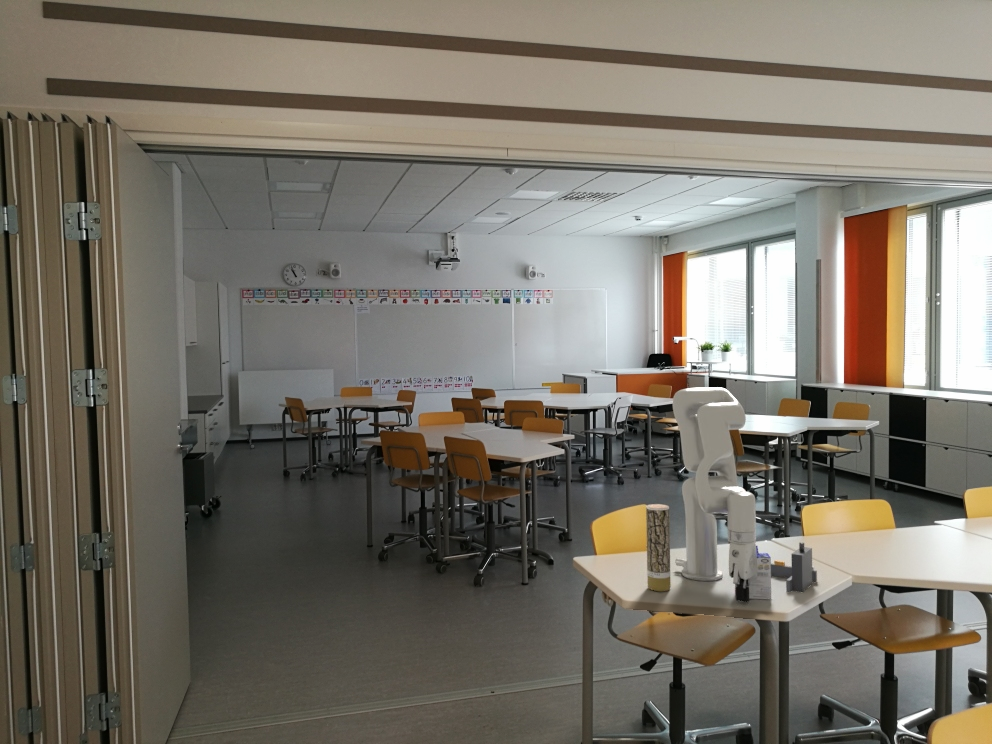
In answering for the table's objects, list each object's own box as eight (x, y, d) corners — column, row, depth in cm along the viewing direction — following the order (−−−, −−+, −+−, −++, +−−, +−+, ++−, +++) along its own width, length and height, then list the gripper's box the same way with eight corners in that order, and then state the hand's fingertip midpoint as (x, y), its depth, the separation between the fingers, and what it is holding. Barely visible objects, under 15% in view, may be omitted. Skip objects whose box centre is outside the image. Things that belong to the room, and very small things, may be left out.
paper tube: (666, 593, 211) (664, 509, 211) (644, 590, 215) (642, 507, 214) (673, 587, 217) (672, 505, 217) (652, 584, 220) (650, 503, 220)
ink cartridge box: (769, 594, 209) (768, 544, 209) (772, 600, 204) (771, 549, 203) (733, 592, 211) (733, 543, 211) (736, 598, 206) (735, 548, 205)
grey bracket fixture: (739, 583, 219) (738, 539, 219) (756, 571, 231) (755, 530, 231) (802, 594, 208) (801, 548, 207) (817, 581, 219) (816, 538, 219)
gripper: (745, 543, 193) (746, 611, 193) (764, 532, 204) (765, 596, 204) (718, 539, 198) (719, 605, 198) (738, 529, 209) (739, 591, 209)
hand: (742, 600), depth 201 cm, fingers closed
